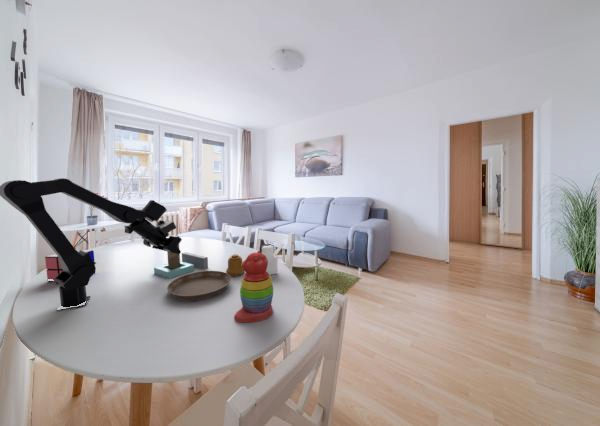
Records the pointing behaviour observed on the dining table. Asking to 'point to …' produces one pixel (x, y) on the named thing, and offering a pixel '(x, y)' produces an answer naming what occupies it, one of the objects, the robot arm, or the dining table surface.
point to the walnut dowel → (173, 260)
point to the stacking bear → (255, 290)
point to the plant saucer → (199, 285)
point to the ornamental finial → (234, 266)
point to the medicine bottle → (269, 258)
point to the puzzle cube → (54, 264)
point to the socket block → (169, 273)
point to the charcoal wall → (195, 260)
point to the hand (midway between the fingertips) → (176, 252)
